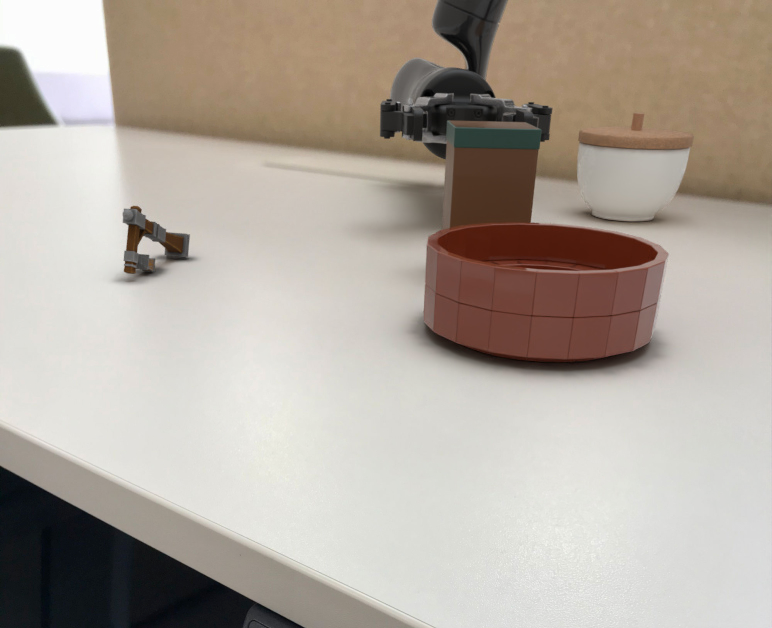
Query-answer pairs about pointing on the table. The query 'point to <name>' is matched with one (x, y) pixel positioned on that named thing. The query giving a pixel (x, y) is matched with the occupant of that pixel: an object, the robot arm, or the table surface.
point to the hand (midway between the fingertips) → (473, 127)
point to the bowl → (543, 290)
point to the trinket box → (630, 169)
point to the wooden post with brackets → (141, 227)
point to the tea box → (489, 172)
